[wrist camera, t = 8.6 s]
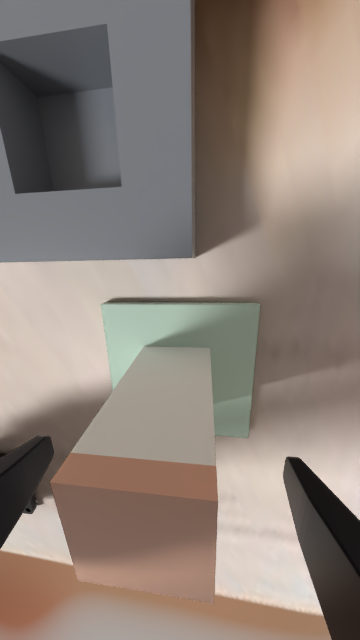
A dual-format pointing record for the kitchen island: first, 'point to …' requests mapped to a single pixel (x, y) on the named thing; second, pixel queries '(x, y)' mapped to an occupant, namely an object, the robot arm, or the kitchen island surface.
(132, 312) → the mat
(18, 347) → the kitchen island surface
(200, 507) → the plug
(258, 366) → the kitchen island surface
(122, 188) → the grey square socket block
